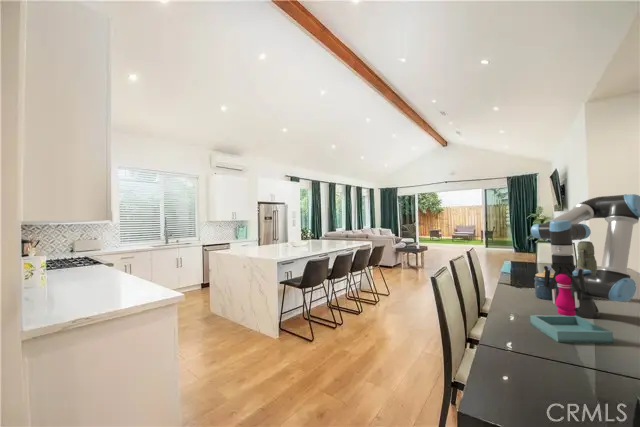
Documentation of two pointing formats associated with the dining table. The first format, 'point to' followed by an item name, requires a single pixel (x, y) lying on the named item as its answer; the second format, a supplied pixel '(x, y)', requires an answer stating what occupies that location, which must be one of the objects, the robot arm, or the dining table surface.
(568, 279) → the pepper mill
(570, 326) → the tray
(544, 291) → the canister
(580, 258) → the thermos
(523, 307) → the dining table surface
